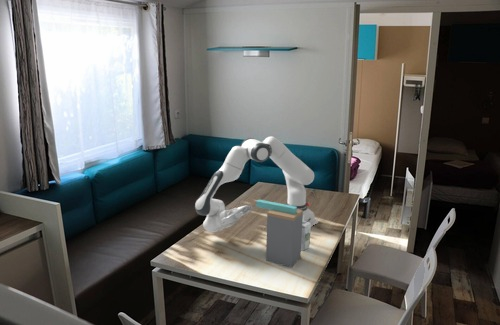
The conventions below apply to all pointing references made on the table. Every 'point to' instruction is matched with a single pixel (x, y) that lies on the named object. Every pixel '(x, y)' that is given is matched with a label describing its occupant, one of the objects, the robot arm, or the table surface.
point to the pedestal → (284, 237)
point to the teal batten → (276, 206)
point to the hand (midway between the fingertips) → (247, 210)
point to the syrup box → (305, 235)
